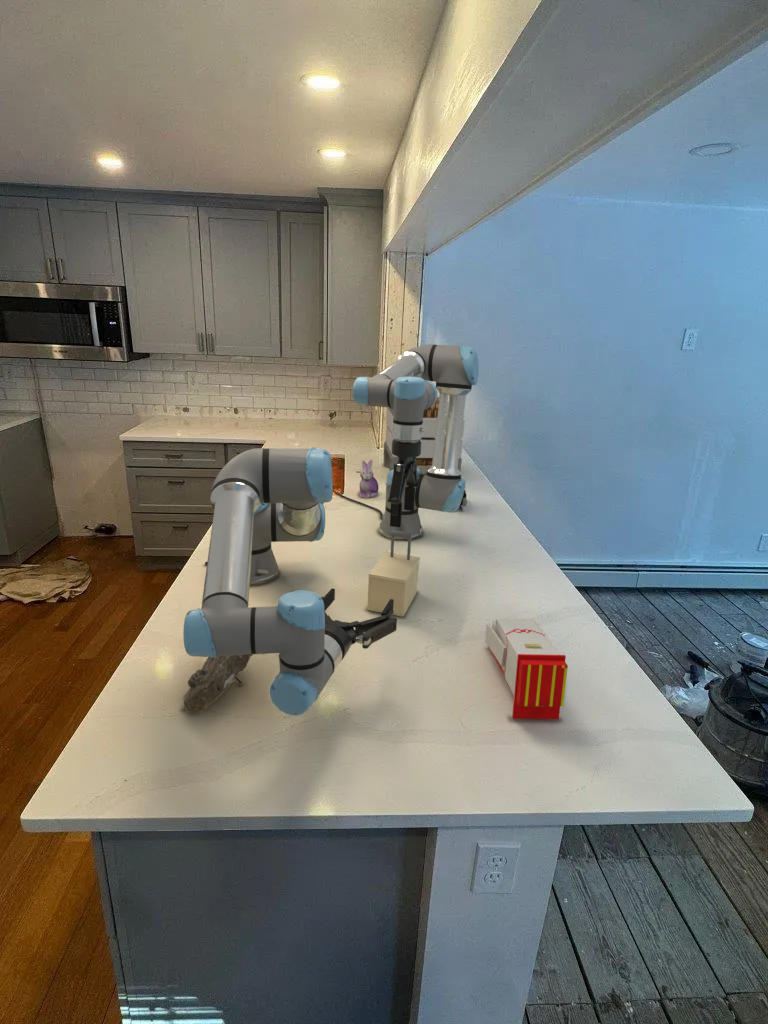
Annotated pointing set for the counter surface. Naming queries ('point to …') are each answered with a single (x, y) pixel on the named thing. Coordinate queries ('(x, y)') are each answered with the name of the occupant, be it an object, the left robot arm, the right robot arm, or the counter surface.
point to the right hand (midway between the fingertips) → (402, 517)
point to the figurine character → (463, 501)
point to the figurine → (368, 481)
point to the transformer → (426, 439)
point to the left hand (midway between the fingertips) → (362, 599)
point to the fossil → (213, 680)
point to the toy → (529, 667)
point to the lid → (395, 562)
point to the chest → (392, 593)
